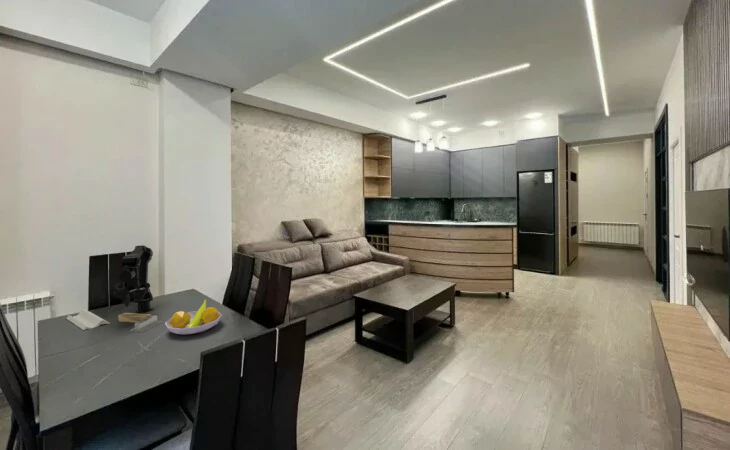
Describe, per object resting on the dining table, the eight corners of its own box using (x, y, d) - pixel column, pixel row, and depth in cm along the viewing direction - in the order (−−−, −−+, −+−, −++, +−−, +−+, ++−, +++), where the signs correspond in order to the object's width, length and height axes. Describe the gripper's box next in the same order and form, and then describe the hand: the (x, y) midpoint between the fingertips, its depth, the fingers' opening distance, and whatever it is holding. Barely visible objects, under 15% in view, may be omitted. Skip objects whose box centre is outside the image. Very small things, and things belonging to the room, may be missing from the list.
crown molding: (66, 319, 181) (65, 313, 181) (92, 313, 191) (91, 307, 191) (83, 331, 164) (83, 324, 164) (111, 324, 174) (111, 317, 174)
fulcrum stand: (149, 321, 176) (149, 314, 176) (162, 321, 175) (162, 315, 175) (129, 331, 162) (128, 324, 162) (143, 332, 161) (142, 324, 161)
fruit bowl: (199, 342, 150) (198, 319, 149) (152, 337, 155) (151, 315, 154) (234, 320, 177) (233, 301, 176) (193, 317, 183) (192, 298, 182)
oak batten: (125, 319, 180) (124, 312, 180) (151, 321, 177) (151, 314, 177) (118, 321, 176) (118, 315, 176) (145, 323, 173) (145, 317, 173)
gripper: (132, 273, 185) (134, 298, 186) (103, 281, 166) (106, 309, 167) (150, 273, 184) (151, 298, 185) (122, 281, 165) (124, 310, 166)
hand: (133, 304), depth 176 cm, fingers open, 9 cm apart
